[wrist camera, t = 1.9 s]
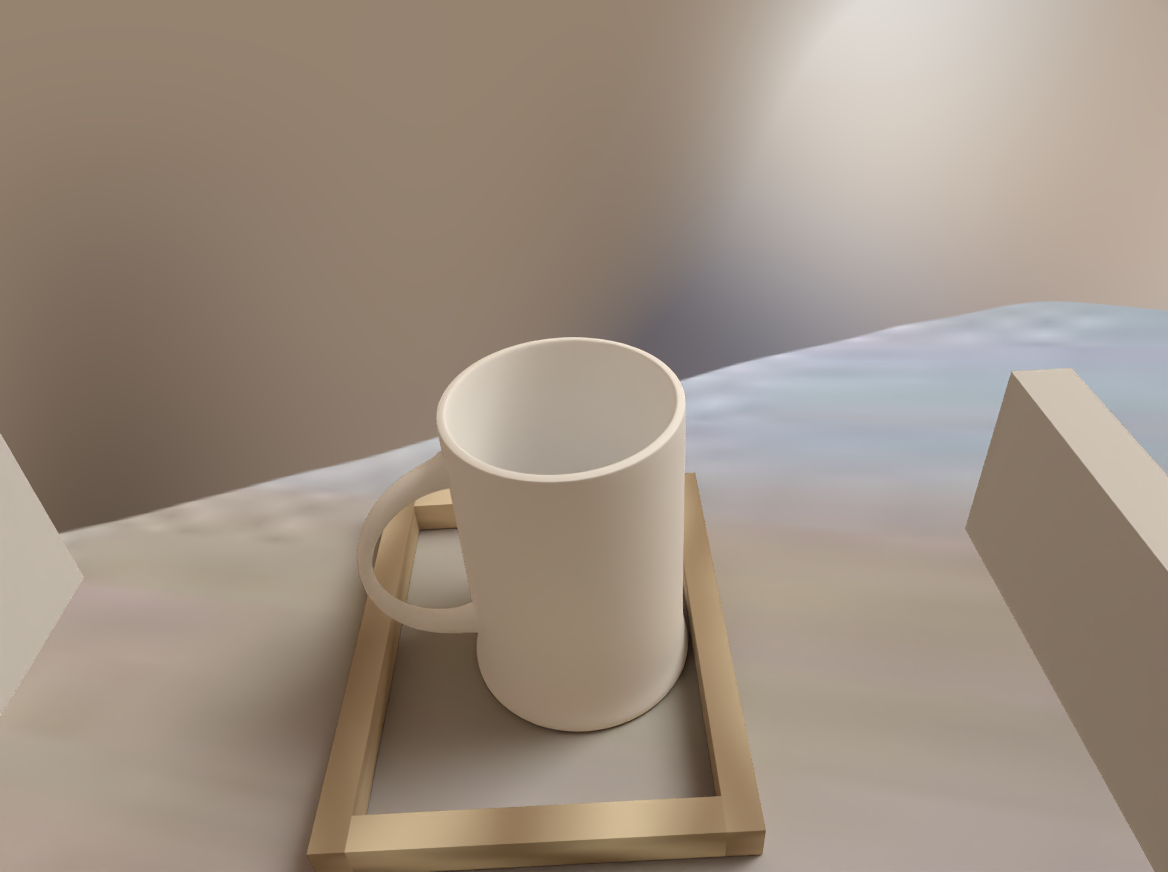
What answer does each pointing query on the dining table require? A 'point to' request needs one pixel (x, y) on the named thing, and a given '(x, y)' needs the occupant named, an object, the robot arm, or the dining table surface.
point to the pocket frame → (533, 833)
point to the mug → (560, 528)
